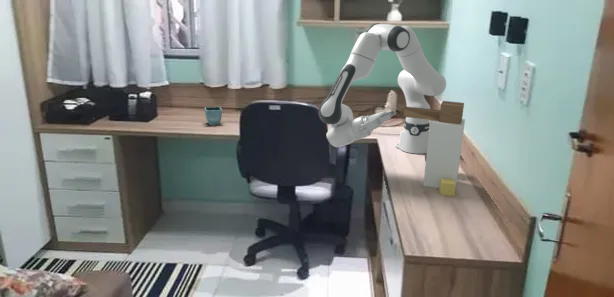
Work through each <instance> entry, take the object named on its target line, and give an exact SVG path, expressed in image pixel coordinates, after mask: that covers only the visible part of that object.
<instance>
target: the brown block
mask: <svg viewBox="0 0 614 297" xmlns="http://www.w3.org/2000/svg"><path fill="white" fill-rule="evenodd" d="M464 107H465V102H459V101H450V100H449V101H448V100H442V102H441V103H440V109H433V108H430V109H424V108H415V107H407V106H405V107H404V108H403V109H404V110H403V118H406V117H410V118H419V119H427V120H429V121H431V120H436V121H439V122H445V123H453V124H461V122H462V119H463V116H464Z"/></svg>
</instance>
